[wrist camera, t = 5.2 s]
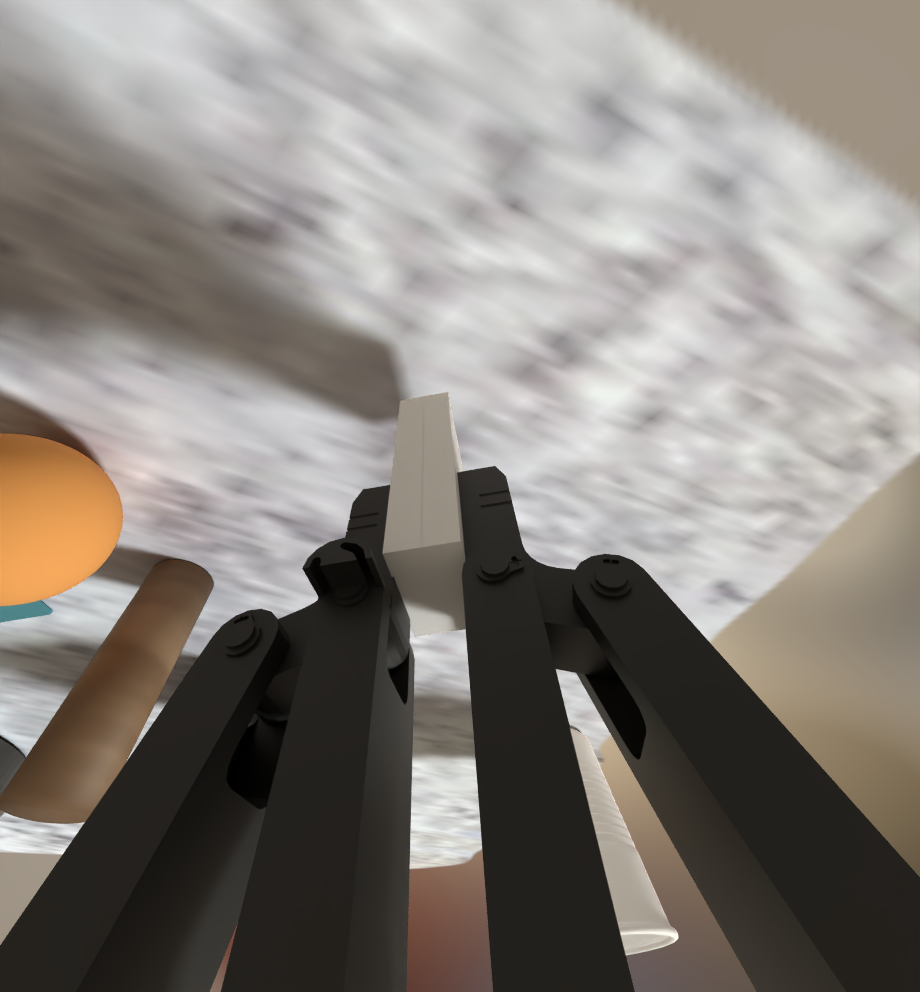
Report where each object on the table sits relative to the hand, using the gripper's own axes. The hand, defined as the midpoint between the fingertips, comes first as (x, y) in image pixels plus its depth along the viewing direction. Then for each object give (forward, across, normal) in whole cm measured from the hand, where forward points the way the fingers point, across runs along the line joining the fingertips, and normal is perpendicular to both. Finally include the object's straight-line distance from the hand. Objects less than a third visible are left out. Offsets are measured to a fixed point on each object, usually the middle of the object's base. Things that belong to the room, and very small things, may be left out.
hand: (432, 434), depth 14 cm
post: (+2, +13, +6) cm, 15 cm away
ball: (-1, +14, 0) cm, 14 cm away
